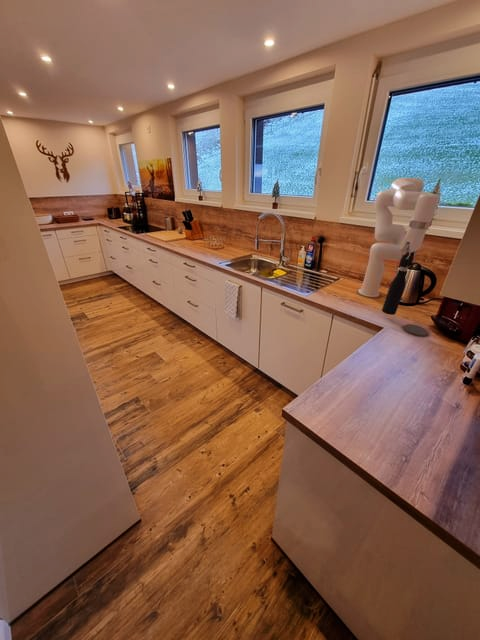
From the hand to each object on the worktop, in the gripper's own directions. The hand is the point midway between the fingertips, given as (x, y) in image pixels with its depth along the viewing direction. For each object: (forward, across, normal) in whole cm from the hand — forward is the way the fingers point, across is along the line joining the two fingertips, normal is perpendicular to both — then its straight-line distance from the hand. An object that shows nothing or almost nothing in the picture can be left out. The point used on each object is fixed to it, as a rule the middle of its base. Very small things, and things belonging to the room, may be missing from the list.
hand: (404, 265), depth 123 cm
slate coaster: (+28, +1, +15) cm, 32 cm away
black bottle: (+25, 0, 0) cm, 25 cm away
